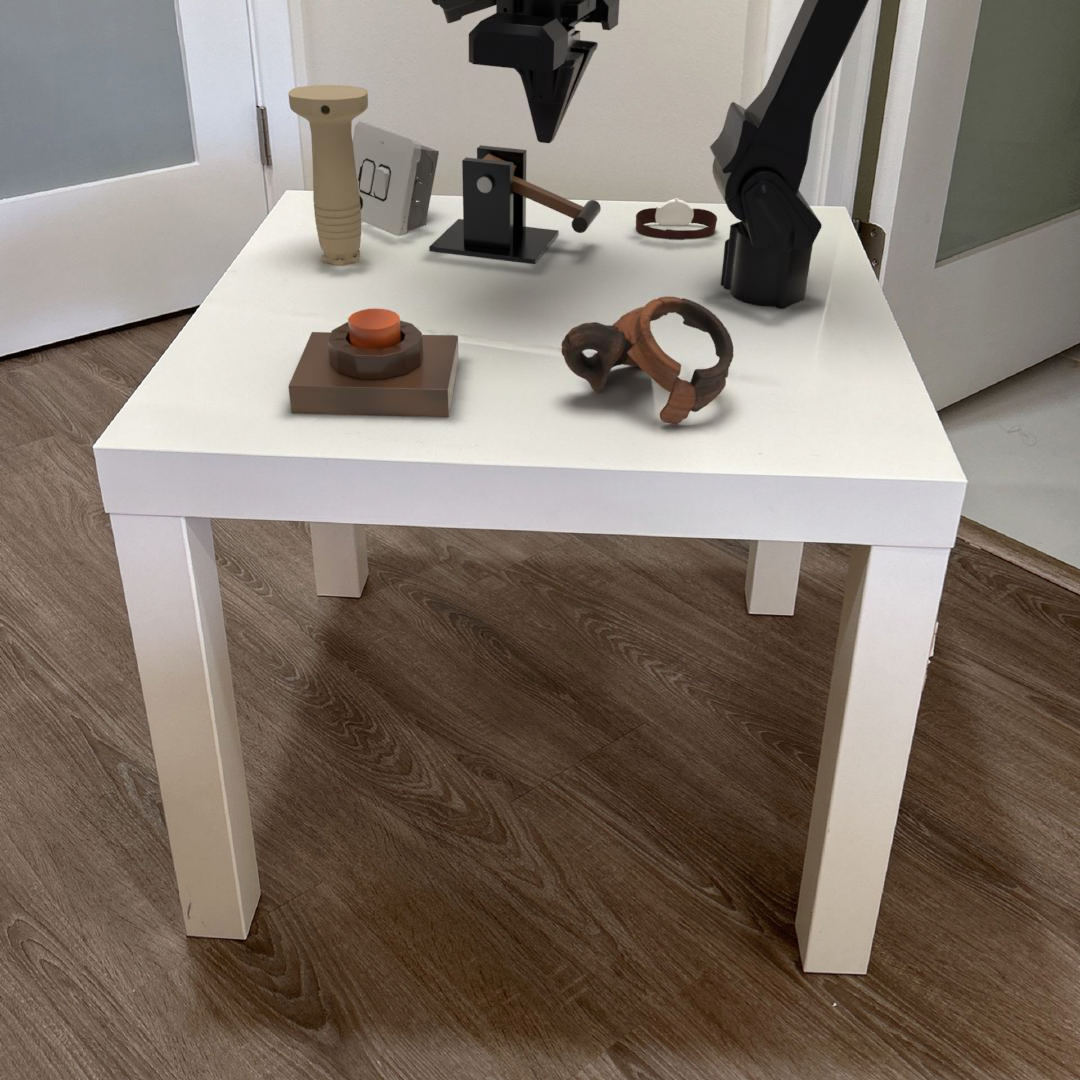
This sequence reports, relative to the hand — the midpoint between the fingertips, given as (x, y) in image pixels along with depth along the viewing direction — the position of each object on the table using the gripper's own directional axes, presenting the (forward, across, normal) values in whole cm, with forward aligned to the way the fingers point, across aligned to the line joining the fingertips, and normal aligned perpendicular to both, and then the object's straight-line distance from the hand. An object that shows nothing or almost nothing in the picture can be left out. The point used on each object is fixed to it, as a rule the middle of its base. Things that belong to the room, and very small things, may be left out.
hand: (545, 141), depth 92 cm
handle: (+14, -1, -19) cm, 23 cm away
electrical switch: (+14, -13, -20) cm, 27 cm away
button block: (+13, +19, -6) cm, 24 cm away
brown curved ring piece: (+13, +14, +12) cm, 23 cm away
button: (+10, +19, -6) cm, 23 cm away
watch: (+13, -19, +8) cm, 24 cm away
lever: (+9, -10, -4) cm, 14 cm away
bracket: (+13, -10, -8) cm, 18 cm away
